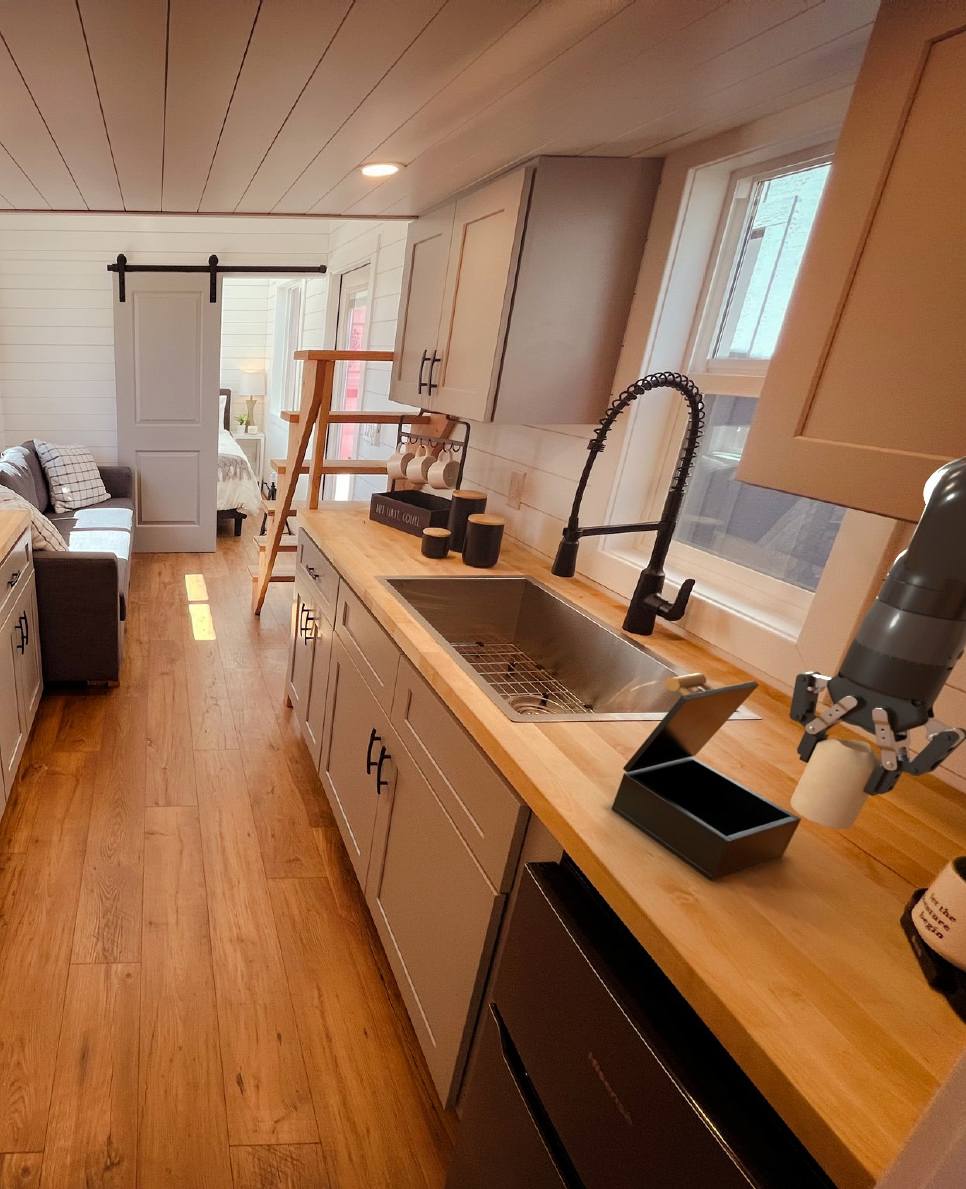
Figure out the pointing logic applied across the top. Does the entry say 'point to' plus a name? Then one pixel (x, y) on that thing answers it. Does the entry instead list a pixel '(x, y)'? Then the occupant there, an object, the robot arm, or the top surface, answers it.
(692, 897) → the top surface
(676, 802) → the bread bin
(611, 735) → the top surface
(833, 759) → the candle
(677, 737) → the bin lid
